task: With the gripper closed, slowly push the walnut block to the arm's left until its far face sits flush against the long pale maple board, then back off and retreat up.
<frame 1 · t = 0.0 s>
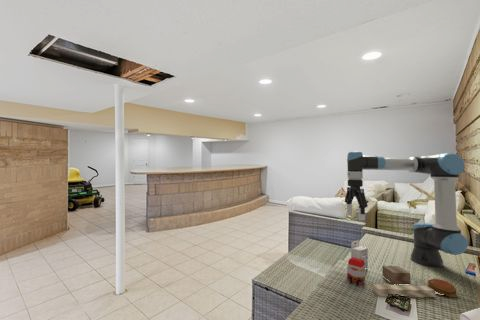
hand: (355, 217, 123), 28 cm above the table, fingers open, 13 cm apart
burger: (441, 292, 99), on the table
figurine: (356, 282, 107), on the table
ink box: (359, 269, 122), on the table
walnut block: (396, 281, 108), on the table
maple board: (403, 294, 97), on the table
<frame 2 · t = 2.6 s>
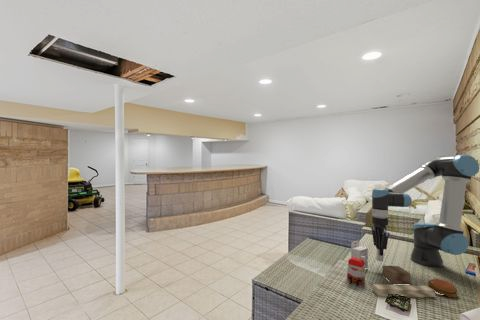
hand: (379, 260, 121), 5 cm above the table, fingers closed
nothing on the table moved.
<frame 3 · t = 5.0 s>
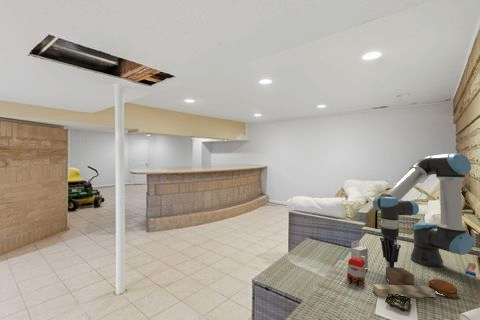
hand: (390, 274, 112), 2 cm above the table, fingers closed
walnut block: (399, 283, 106), on the table, touching gripper
everything else where it was.
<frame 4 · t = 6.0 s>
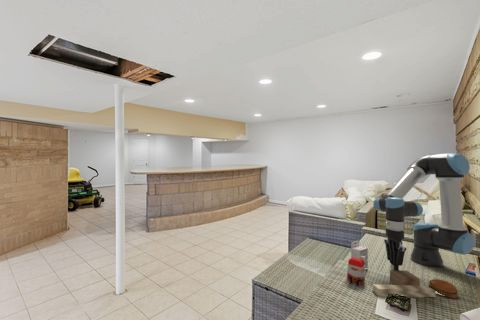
hand: (394, 277, 109), 2 cm above the table, fingers closed
walnut block: (404, 287, 103), on the table, touching gripper, maple board
everything else where it was.
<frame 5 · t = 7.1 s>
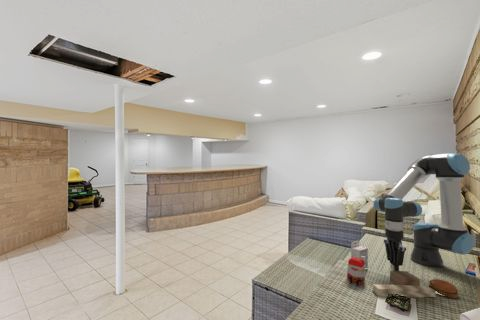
hand: (395, 277, 109), 1 cm above the table, fingers closed
walnut block: (404, 288, 103), on the table
everything else where it was.
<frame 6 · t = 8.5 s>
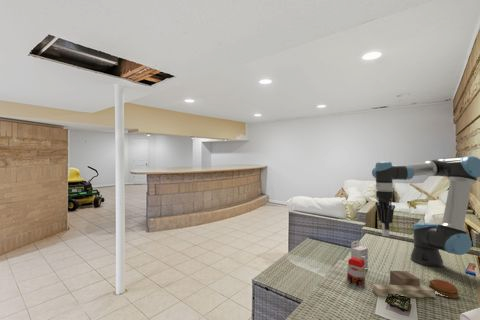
hand: (385, 235, 117), 20 cm above the table, fingers closed
nothing on the table moved.
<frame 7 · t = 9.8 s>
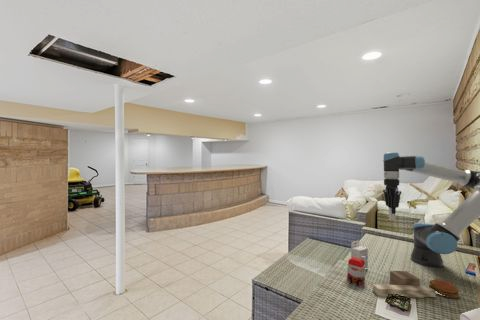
hand: (392, 219, 130), 26 cm above the table, fingers closed
nothing on the table moved.
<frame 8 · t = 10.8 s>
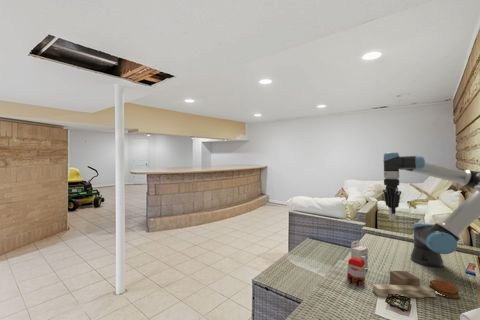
hand: (392, 218, 130), 26 cm above the table, fingers closed
nothing on the table moved.
at the end: walnut block inside the target area on the table beside the maple board (4.8 cm from its centre), on the table; walnut block tilted 0° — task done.
